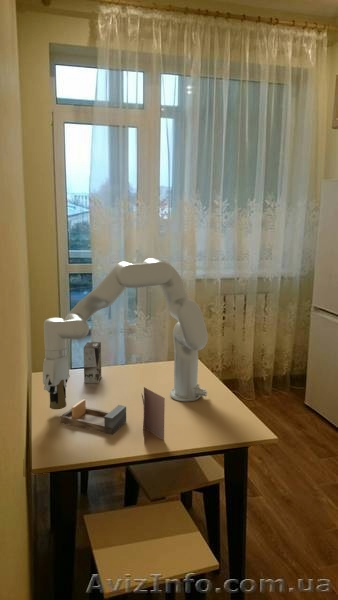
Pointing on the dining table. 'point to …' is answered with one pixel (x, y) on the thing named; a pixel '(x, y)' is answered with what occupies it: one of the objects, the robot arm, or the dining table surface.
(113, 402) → the dining table surface
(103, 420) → the lane
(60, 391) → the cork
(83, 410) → the pusher
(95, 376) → the coffee box
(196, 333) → the robot arm
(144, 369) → the dining table surface
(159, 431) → the greeting card
